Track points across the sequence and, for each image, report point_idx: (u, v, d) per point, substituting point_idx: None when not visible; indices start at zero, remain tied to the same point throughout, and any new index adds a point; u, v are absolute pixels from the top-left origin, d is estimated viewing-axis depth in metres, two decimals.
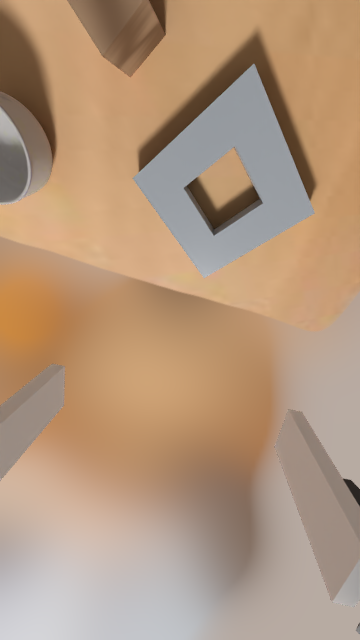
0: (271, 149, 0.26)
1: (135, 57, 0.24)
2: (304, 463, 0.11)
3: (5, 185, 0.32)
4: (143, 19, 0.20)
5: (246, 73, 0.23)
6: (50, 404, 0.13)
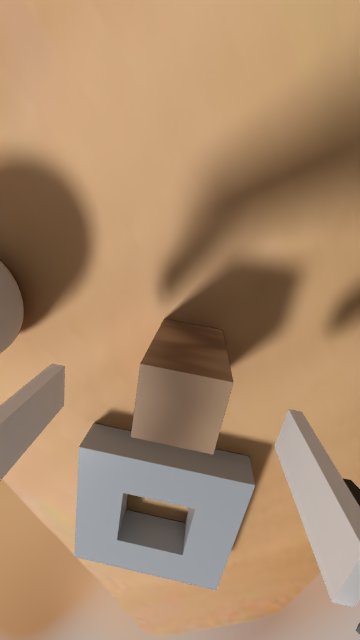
0: (220, 534, 0.23)
1: None
2: (304, 463, 0.11)
3: None
4: None
5: (244, 484, 0.21)
6: (50, 404, 0.13)
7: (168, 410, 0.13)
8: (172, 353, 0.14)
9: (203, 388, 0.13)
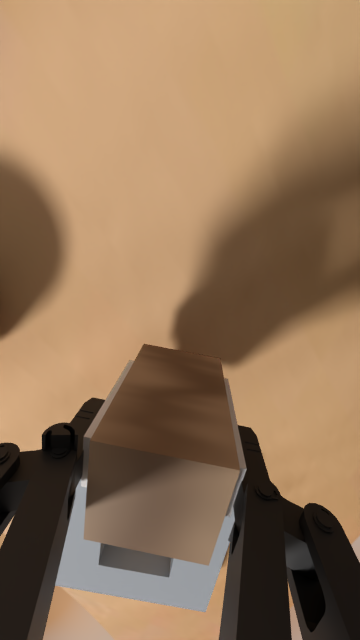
0: None
1: None
2: None
3: None
4: None
5: None
6: None
7: (138, 506, 0.09)
8: (146, 411, 0.10)
9: (192, 477, 0.08)
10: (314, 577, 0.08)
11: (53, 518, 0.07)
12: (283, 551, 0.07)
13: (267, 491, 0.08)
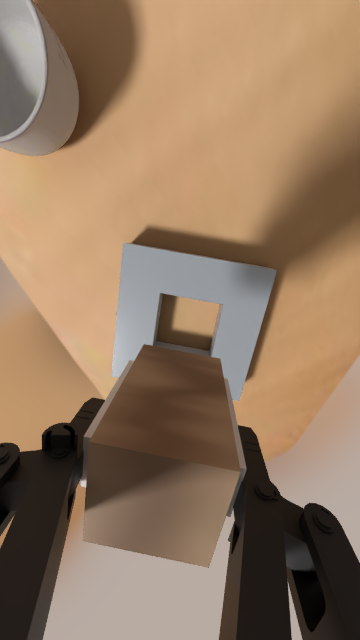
0: (245, 332, 0.27)
1: None
2: None
3: None
4: None
5: (268, 270, 0.24)
6: None
7: (137, 508, 0.09)
8: (145, 411, 0.10)
9: (192, 479, 0.08)
10: (314, 577, 0.08)
11: (53, 518, 0.07)
12: (283, 552, 0.07)
13: (267, 491, 0.08)
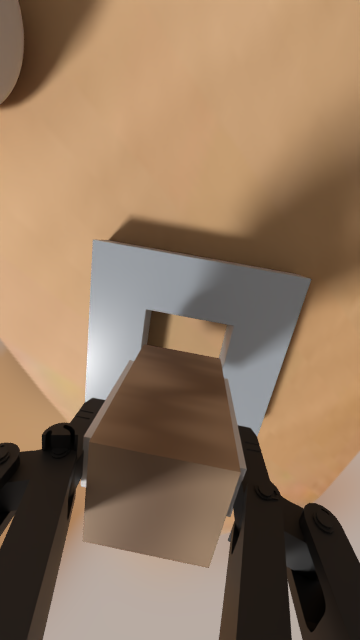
0: (263, 363, 0.19)
1: None
2: None
3: None
4: None
5: (298, 279, 0.17)
6: None
7: (137, 508, 0.09)
8: (145, 412, 0.10)
9: (192, 479, 0.08)
10: (314, 577, 0.08)
11: (53, 518, 0.07)
12: (283, 551, 0.07)
13: (267, 491, 0.08)
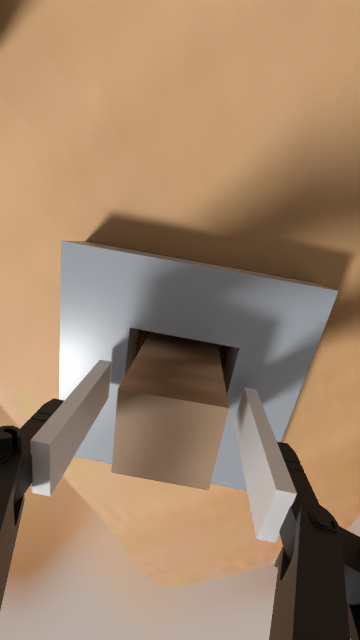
0: (275, 393, 0.16)
1: None
2: (249, 431, 0.12)
3: None
4: None
5: (321, 291, 0.13)
6: (101, 396, 0.14)
7: (153, 442, 0.11)
8: (157, 372, 0.12)
9: (194, 415, 0.11)
10: None
11: None
12: (343, 591, 0.06)
13: (324, 520, 0.08)
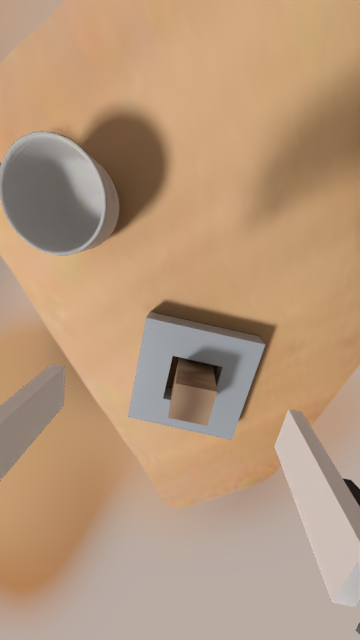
0: (238, 388, 0.34)
1: None
2: (304, 463, 0.11)
3: (38, 213, 0.28)
4: None
5: (258, 344, 0.31)
6: (50, 404, 0.13)
7: (187, 404, 0.29)
8: (188, 377, 0.30)
9: (203, 394, 0.28)
10: None
11: None
12: None
13: None
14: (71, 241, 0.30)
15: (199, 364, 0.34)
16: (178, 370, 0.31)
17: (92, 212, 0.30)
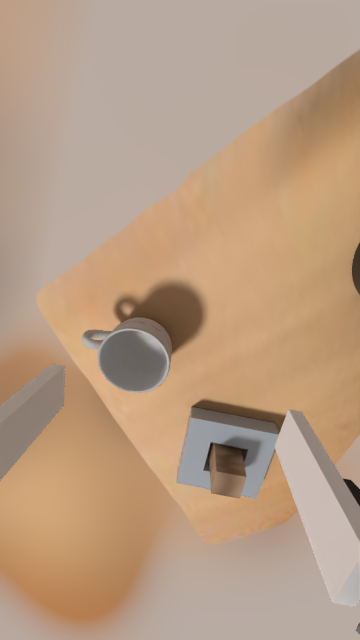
0: (261, 463, 0.45)
1: None
2: (304, 463, 0.11)
3: (114, 353, 0.40)
4: None
5: (275, 434, 0.42)
6: (50, 404, 0.13)
7: (224, 485, 0.40)
8: (224, 463, 0.41)
9: (237, 478, 0.40)
10: None
11: None
12: None
13: None
14: (135, 366, 0.42)
15: None
16: (216, 455, 0.42)
17: (150, 346, 0.41)
